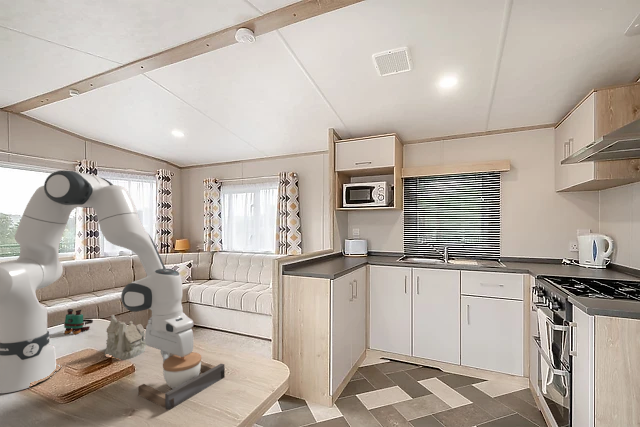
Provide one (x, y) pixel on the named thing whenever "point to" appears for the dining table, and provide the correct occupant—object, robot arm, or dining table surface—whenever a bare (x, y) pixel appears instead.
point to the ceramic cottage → (125, 339)
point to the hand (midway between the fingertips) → (168, 363)
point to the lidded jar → (181, 369)
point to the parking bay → (184, 387)
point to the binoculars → (75, 322)
